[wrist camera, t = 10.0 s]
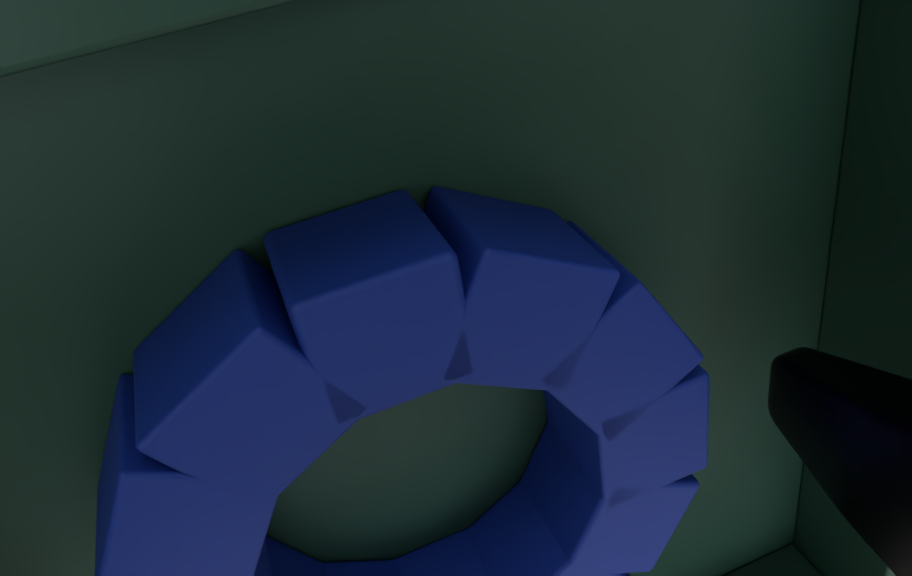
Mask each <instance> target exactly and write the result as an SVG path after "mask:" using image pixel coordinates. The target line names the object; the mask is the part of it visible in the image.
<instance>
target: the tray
mask: <svg viewBox="0 0 912 576" xmlns="http://www.w3.org/2000/svg"><path fill="white" fill-rule="evenodd" d="M433 186H440V187H444V188H449V189H454V190H459V191H464V192H468V193H473V194H478V195H483V196H488V197H493V198H497V199H502V200H507V201H512V202H517V203H521V204H526V205H531V206H536V207H541V208H545V209H550V210H552V211H553V212H555V213H556V214H557V215H558V216H559V217H560V218H561V219H562V220H563V221H565V222H566V223H567V222H569V221H572V222H574V223H575V224H577V225H578V226H579V227H580V228H581V229H582V230H583V231H584V232H586V233H587V234H588V235H589V236H590V237H591V238H592V239H593V240H595V241H596V242H597V243H598V244H599V245H600V246H601V247H602V248H604V249H605V250H606V251H607V252H608V253H609V254H610V255H611V256H613V257H614V258H615V259H616V260H617V261H618V262H619V263H620V264H622V265H623V266H624V267H625V268H626V269H627V270H628V271H629V272H631V273H632V274H633V275H634V276H635V277H636V278H637V279H638V280H640V281H641V282H642V283H643V284H644V286H645V287H646V288H647V289H648V290H649V292H650V293H651V294H652V295H653V296H654V297H655V299H656V300H657V301H658V302H659V303H660V305H661V306H662V307H663V308H664V309H665V310H666V312H667V313H668V314H669V315H670V316H671V317H672V319H673V320H674V321H675V322H676V323H677V325H678V326H679V327H680V328H681V329H682V330H683V332H684V333H685V334H686V335H687V336H688V338H689V339H690V340H691V341H692V342H693V343H694V345H695V346H696V347H697V348H698V349H699V350H700V352H701V353H702V355H703V360H702V361H701V362H700V363H699V365H700V366H701V367H702V368H703V369H704V370H705V371H706V372H707V373H708V374H709V377H710V383H709V424H708V465H707V467H705V468H704V469H702V470H700V471H697V472H695V473H693V474H692V475H693V476H694V477H695V478H696V479H697V480H698V482H699V489H698V490H697V492H696V494H695V496H694V497H693V499H692V501H691V503H690V504H689V506H688V508H687V510H686V511H685V513H684V515H683V517H682V518H681V520H680V522H679V524H678V525H677V527H676V529H675V531H674V532H673V534H672V536H671V538H670V539H669V541H668V543H667V545H666V546H665V548H664V550H663V552H662V553H661V555H660V557H659V559H658V560H657V562H656V564H655V566H654V567H653V569H652V570H650V571H648V572H635V573H629V574H630V575H631V576H896V575H895V574H894V573H893V572H892V571H891V570H890V568H889V567H888V566H887V565H886V564H885V563H884V562H883V561H882V560H881V558H880V557H879V556H878V555H877V554H876V553H875V552H874V551H873V550H872V548H871V547H870V546H869V545H868V544H867V543H866V542H865V541H864V540H863V539H862V537H861V536H860V535H859V534H858V533H857V532H856V531H855V529H854V528H853V527H852V526H851V525H850V524H849V522H848V521H847V520H846V519H845V518H844V516H843V515H842V514H841V513H840V511H839V510H838V509H837V507H836V506H835V505H834V504H833V502H832V501H831V500H830V498H829V497H828V496H827V494H826V493H825V491H824V490H823V489H822V487H821V486H820V485H819V483H818V482H817V481H816V479H815V478H814V476H813V475H812V474H811V472H810V471H809V470H808V468H807V467H806V466H805V464H804V463H803V462H802V460H801V459H800V457H799V456H798V455H797V453H796V452H795V451H794V449H793V448H792V447H791V445H790V444H789V443H788V441H787V440H786V438H785V437H784V436H783V434H782V433H781V432H780V430H779V429H778V428H777V426H776V425H775V423H774V422H773V420H772V418H771V416H770V413H769V410H768V390H769V378H770V367H771V363H772V361H773V359H774V358H775V357H776V356H778V355H780V354H783V353H785V352H788V351H790V350H793V349H795V348H798V347H808V348H812V349H815V350H818V351H822V352H825V353H828V354H831V355H835V356H838V357H841V358H844V359H848V360H851V361H854V362H857V363H860V364H864V365H867V366H870V367H873V368H877V369H880V370H883V371H886V372H889V373H893V374H896V375H899V376H902V377H906V378H909V379H912V0H0V576H95V549H96V516H97V488H98V483H99V477H100V472H101V467H102V462H103V456H104V451H105V446H106V441H107V435H108V430H109V425H110V420H111V414H112V409H113V404H114V399H115V393H116V388H117V383H118V379H119V377H120V376H121V375H123V374H132V375H134V372H133V353H134V350H135V349H136V348H137V347H138V346H139V345H140V344H141V343H142V342H143V341H144V340H145V339H146V338H147V337H148V336H149V335H150V334H151V333H152V332H153V331H154V330H155V329H156V328H157V327H158V326H159V325H160V324H161V323H162V322H163V321H164V320H165V319H166V318H167V317H168V316H169V315H170V314H171V313H172V312H173V311H174V310H175V309H176V308H177V307H178V306H179V305H180V304H181V303H182V302H183V301H184V300H185V299H186V298H187V297H188V296H189V295H190V294H191V293H192V292H193V291H194V290H195V289H196V288H197V287H198V286H199V285H200V284H201V283H202V282H203V281H204V280H205V279H206V278H207V277H208V276H209V275H210V274H211V273H212V272H213V271H214V270H215V269H216V268H217V267H218V266H219V265H220V264H221V263H222V262H223V261H224V260H225V259H226V258H227V257H228V256H229V255H230V254H231V253H232V252H233V251H234V250H236V249H239V250H242V251H243V252H245V253H246V254H247V255H249V256H250V257H251V258H253V259H254V260H255V261H257V262H258V263H259V264H261V265H262V266H263V267H265V268H266V269H267V270H269V271H270V272H271V273H273V274H274V272H273V269H272V266H271V263H270V260H269V257H268V254H267V251H266V249H265V246H264V236H265V234H267V233H268V232H270V231H273V230H276V229H279V228H282V227H285V226H288V225H292V224H295V223H298V222H301V221H304V220H307V219H310V218H314V217H317V216H320V215H323V214H326V213H329V212H332V211H336V210H339V209H342V208H345V207H348V206H351V205H354V204H358V203H361V202H364V201H367V200H370V199H373V198H376V197H380V196H383V195H386V194H389V193H392V192H395V191H398V190H406V191H408V192H409V194H410V195H411V196H412V197H413V199H414V200H415V201H416V203H417V204H418V205H419V207H420V208H421V209H422V210H423V211H424V208H425V205H426V202H427V199H428V196H429V193H430V190H431V188H432V187H433ZM547 421H548V418H547V410H546V403H545V395H544V390H535V389H523V388H510V387H498V386H485V385H473V384H461V383H455V384H452V385H449V386H447V387H444V388H441V389H439V390H436V391H433V392H431V393H428V394H425V395H423V396H420V397H418V398H415V399H412V400H410V401H407V402H404V403H402V404H399V405H396V406H394V407H391V408H388V409H386V410H383V411H380V412H378V413H375V414H372V415H370V416H367V417H365V418H362V419H359V420H357V421H356V422H355V423H354V424H353V425H352V426H351V427H350V428H349V429H348V430H347V431H346V432H345V433H344V434H343V435H342V436H341V437H340V438H339V439H337V440H336V441H335V442H334V443H333V444H332V445H331V446H330V447H329V448H328V449H327V450H326V451H325V452H324V453H323V454H322V455H321V456H320V457H318V458H317V459H316V460H315V461H314V462H313V463H312V464H311V465H310V466H309V467H308V468H307V469H306V470H305V471H304V472H303V473H302V474H301V475H300V476H298V477H297V478H296V479H295V480H294V481H293V482H292V483H291V484H290V485H289V486H288V487H287V488H286V489H285V490H284V491H283V492H282V493H281V494H280V495H278V498H277V501H276V504H275V507H274V511H273V514H272V517H271V520H270V524H269V527H268V530H267V533H266V536H268V537H270V538H272V539H274V540H277V541H279V542H281V543H283V544H285V545H287V546H289V547H291V548H293V549H295V550H297V551H299V552H302V553H304V554H306V555H308V556H310V557H312V558H314V559H316V560H318V561H320V562H341V561H370V560H393V559H395V558H397V557H400V556H402V555H405V554H407V553H409V552H412V551H414V550H416V549H419V548H421V547H424V546H426V545H428V544H431V543H433V542H436V541H438V540H440V539H443V538H445V537H447V536H450V535H452V534H455V533H457V532H459V531H462V530H464V529H467V528H469V527H470V526H471V525H472V524H473V523H474V522H475V521H476V520H477V519H478V518H480V517H481V516H482V515H483V514H484V513H485V512H486V511H487V510H488V509H489V508H491V507H492V506H493V505H494V504H495V503H496V502H497V501H498V500H499V499H500V498H502V497H503V496H504V495H505V494H506V493H507V492H508V491H509V490H510V489H511V488H513V487H514V486H515V485H516V484H517V483H518V482H519V481H520V480H521V478H522V476H523V474H524V472H525V470H526V467H527V465H528V463H529V461H530V459H531V456H532V454H533V452H534V450H535V448H536V445H537V443H538V441H539V439H540V437H541V434H542V432H543V430H544V428H545V426H546V424H547Z"/></svg>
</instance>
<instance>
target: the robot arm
mask: <svg viewBox="0 0 912 576" xmlns="http://www.w3.org/2000/svg"><path fill="white" fill-rule="evenodd" d="M768 410H769V413H770V416H771V418H772V420H773V422H774V423H775V425H776V426H777V428H778V429H779V430H780V432H781V433H782V434H783V436H784V437H785V438H786V440H787V441H788V443H789V444H790V445H791V447H792V448H793V449H794V451H795V452H796V453H797V455H798V456H799V457H800V459H801V460H802V462H803V463H804V464H805V466H806V467H807V468H808V470H809V471H810V472H811V474H812V475H813V476H814V478H815V479H816V481H817V482H818V483H819V485H820V486H821V487H822V489H823V490H824V491H825V493H826V494H827V496H828V497H829V498H830V500H831V501H832V502H833V504H834V505H835V506H836V507H837V509H838V510H839V511H840V513H841V514H842V515H843V516H844V518H845V519H846V520H847V521H848V522H849V524H850V525H851V526H852V527H853V528H854V529H855V531H856V532H857V533H858V534H859V535H860V536H861V537H862V539H863V540H864V541H865V542H866V543H867V544H868V545H869V546H870V547H871V548H872V550H873V551H874V552H875V553H876V554H877V555H878V556H879V557H880V558H881V560H882V561H883V562H884V563H885V564H886V565H887V566H888V567H889V568H890V570H891V571H892V572H893V573H894V574H895V575H896V576H912V379H909V378H906V377H902V376H899V375H896V374H893V373H889V372H886V371H883V370H880V369H877V368H873V367H870V366H867V365H864V364H860V363H857V362H854V361H851V360H848V359H844V358H841V357H838V356H835V355H831V354H828V353H825V352H822V351H818V350H815V349H812V348H808V347H798V348H795V349H793V350H790V351H788V352H785V353H783V354H780V355H778V356H776V357H775V358H774V359H773V361H772V363H771V367H770V378H769V390H768Z"/></svg>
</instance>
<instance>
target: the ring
mask: <svg viewBox="0 0 912 576" xmlns="http://www.w3.org/2000/svg"><path fill="white" fill-rule="evenodd" d="M264 246H265V249H266V251H267V254H268V257H269V260H270V263H271V266H272V269H273V272H274V274H273V273H271V272H270V271H269V270H267V269H266V268H265V267H263V266H262V265H261V264H259V263H258V262H257V261H255V260H254V259H253V258H251V257H250V256H249V255H247V254H246V253H245V252H243V251H242V250H239V249H236V250H234V251H233V252H232V253H231V254H230V255H229V256H228V257H227V258H226V259H225V260H224V261H223V262H222V263H221V264H220V265H219V266H218V267H217V268H216V269H215V270H214V271H213V272H212V273H211V274H210V275H209V276H208V277H207V278H206V279H205V280H204V281H203V282H202V283H201V284H200V285H199V286H198V287H197V288H196V289H195V290H194V291H193V292H192V293H191V294H190V295H189V296H188V297H187V298H186V299H185V300H184V301H183V302H182V303H181V304H180V305H179V306H178V307H177V308H176V309H175V310H174V311H173V312H172V313H171V314H170V315H169V316H168V317H167V318H166V319H165V320H164V321H163V322H162V323H161V324H160V325H159V326H158V327H157V328H156V329H155V330H154V331H153V332H152V333H151V334H150V335H149V336H148V337H147V338H146V339H145V340H144V341H143V342H142V343H141V344H140V345H139V346H138V347H137V348H136V349H135V350H134V353H133V372H134V375H132V374H123V375H121V376H120V377H119V379H118V383H117V388H116V393H115V399H114V404H113V409H112V414H111V420H110V425H109V430H108V435H107V441H106V446H105V451H104V456H103V462H102V467H101V472H100V477H99V483H98V488H97V516H96V549H95V576H631V575H630V574H629V573H635V572H648V571H650V570H652V569H653V567H654V566H655V564H656V562H657V560H658V559H659V557H660V555H661V553H662V552H663V550H664V548H665V546H666V545H667V543H668V541H669V539H670V538H671V536H672V534H673V532H674V531H675V529H676V527H677V525H678V524H679V522H680V520H681V518H682V517H683V515H684V513H685V511H686V510H687V508H688V506H689V504H690V503H691V501H692V499H693V497H694V496H695V494H696V492H697V490H698V489H699V482H698V480H697V479H696V478H695V477H694V476H693V475H692V474H693V473H695V472H697V471H700V470H702V469H704V468H705V467H707V465H708V424H709V383H710V377H709V374H708V373H707V372H706V371H705V370H704V369H703V368H702V367H701V366H700V365H699V363H700V362H701V361H702V360H703V355H702V353H701V352H700V350H699V349H698V348H697V347H696V346H695V345H694V343H693V342H692V341H691V340H690V339H689V338H688V336H687V335H686V334H685V333H684V332H683V330H682V329H681V328H680V327H679V326H678V325H677V323H676V322H675V321H674V320H673V319H672V317H671V316H670V315H669V314H668V313H667V312H666V310H665V309H664V308H663V307H662V306H661V305H660V303H659V302H658V301H657V300H656V299H655V297H654V296H653V295H652V294H651V293H650V292H649V290H648V289H647V288H646V287H645V286H644V284H643V283H642V282H641V281H640V280H638V279H637V278H636V277H635V276H634V275H633V274H632V273H631V272H629V271H628V270H627V269H626V268H625V267H624V266H623V265H622V264H620V263H619V262H618V261H617V260H616V259H615V258H614V257H613V256H611V255H610V254H609V253H608V252H607V251H606V250H605V249H604V248H602V247H601V246H600V245H599V244H598V243H597V242H596V241H595V240H593V239H592V238H591V237H590V236H589V235H588V234H587V233H586V232H584V231H583V230H582V229H581V228H580V227H579V226H578V225H577V224H575V223H574V222H572V221H569V222H567V223H566V222H565V221H563V220H562V219H561V218H560V217H559V216H558V215H557V214H556V213H555V212H553V211H552V210H550V209H545V208H541V207H536V206H531V205H526V204H521V203H517V202H512V201H507V200H502V199H497V198H493V197H488V196H483V195H478V194H473V193H468V192H464V191H459V190H454V189H449V188H444V187H440V186H433V187H432V188H431V190H430V193H429V196H428V199H427V202H426V205H425V208H424V211H423V210H422V209H421V208H420V207H419V205H418V204H417V203H416V201H415V200H414V199H413V197H412V196H411V195H410V194H409V192H408V191H406V190H398V191H395V192H392V193H389V194H386V195H383V196H380V197H376V198H373V199H370V200H367V201H364V202H361V203H358V204H354V205H351V206H348V207H345V208H342V209H339V210H336V211H332V212H329V213H326V214H323V215H320V216H317V217H314V218H310V219H307V220H304V221H301V222H298V223H295V224H292V225H288V226H285V227H282V228H279V229H276V230H273V231H270V232H268V233H267V234H265V236H264ZM455 383H461V384H473V385H485V386H498V387H510V388H523V389H535V390H544V395H545V403H546V410H547V418H548V421H547V424H546V426H545V428H544V430H543V432H542V434H541V437H540V439H539V441H538V443H537V445H536V448H535V450H534V452H533V454H532V456H531V459H530V461H529V463H528V465H527V467H526V470H525V472H524V474H523V476H522V478H521V480H520V481H519V482H518V483H517V484H516V485H515V486H514V487H513V488H511V489H510V490H509V491H508V492H507V493H506V494H505V495H504V496H503V497H502V498H500V499H499V500H498V501H497V502H496V503H495V504H494V505H493V506H492V507H491V508H489V509H488V510H487V511H486V512H485V513H484V514H483V515H482V516H481V517H480V518H478V519H477V520H476V521H475V522H474V523H473V524H472V525H471V526H470V527H469V528H467V529H464V530H462V531H459V532H457V533H455V534H452V535H450V536H447V537H445V538H443V539H440V540H438V541H436V542H433V543H431V544H428V545H426V546H424V547H421V548H419V549H416V550H414V551H412V552H409V553H407V554H405V555H402V556H400V557H397V558H395V559H393V560H370V561H341V562H320V561H318V560H316V559H314V558H312V557H310V556H308V555H306V554H304V553H302V552H299V551H297V550H295V549H293V548H291V547H289V546H287V545H285V544H283V543H281V542H279V541H277V540H274V539H272V538H270V537H268V536H266V533H267V530H268V527H269V524H270V520H271V517H272V514H273V511H274V507H275V504H276V501H277V498H278V495H280V494H281V493H282V492H283V491H284V490H285V489H286V488H287V487H288V486H289V485H290V484H291V483H292V482H293V481H294V480H295V479H296V478H297V477H298V476H300V475H301V474H302V473H303V472H304V471H305V470H306V469H307V468H308V467H309V466H310V465H311V464H312V463H313V462H314V461H315V460H316V459H317V458H318V457H320V456H321V455H322V454H323V453H324V452H325V451H326V450H327V449H328V448H329V447H330V446H331V445H332V444H333V443H334V442H335V441H336V440H337V439H339V438H340V437H341V436H342V435H343V434H344V433H345V432H346V431H347V430H348V429H349V428H350V427H351V426H352V425H353V424H354V423H355V422H356V421H357V420H359V419H362V418H365V417H367V416H370V415H372V414H375V413H378V412H380V411H383V410H386V409H388V408H391V407H394V406H396V405H399V404H402V403H404V402H407V401H410V400H412V399H415V398H418V397H420V396H423V395H425V394H428V393H431V392H433V391H436V390H439V389H441V388H444V387H447V386H449V385H452V384H455Z"/></svg>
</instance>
